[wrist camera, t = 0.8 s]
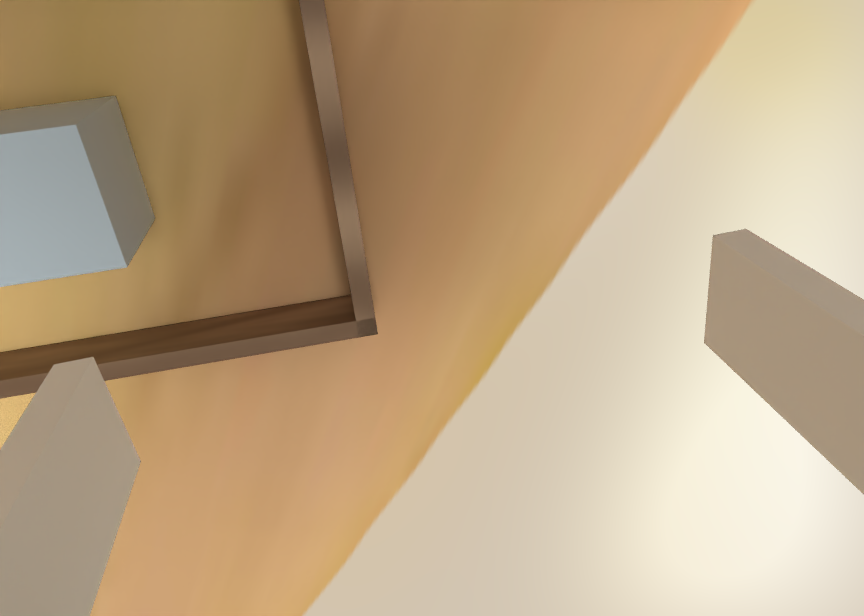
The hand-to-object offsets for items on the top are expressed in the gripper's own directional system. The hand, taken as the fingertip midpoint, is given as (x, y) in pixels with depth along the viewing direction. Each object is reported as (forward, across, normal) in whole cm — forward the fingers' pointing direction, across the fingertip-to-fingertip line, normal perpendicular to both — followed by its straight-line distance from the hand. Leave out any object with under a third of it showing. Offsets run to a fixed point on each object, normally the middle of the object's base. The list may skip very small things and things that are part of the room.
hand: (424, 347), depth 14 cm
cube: (+21, -14, 0) cm, 25 cm away
